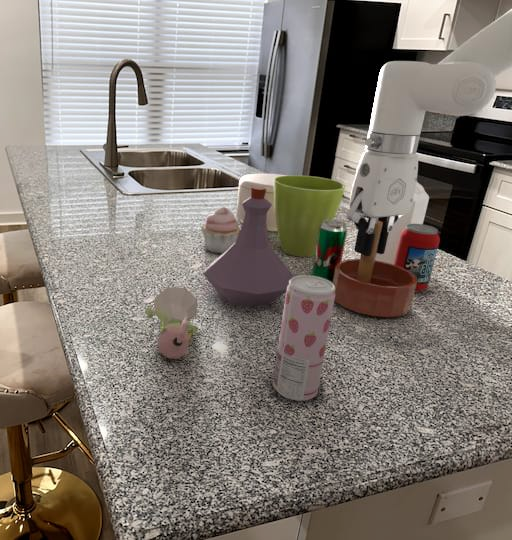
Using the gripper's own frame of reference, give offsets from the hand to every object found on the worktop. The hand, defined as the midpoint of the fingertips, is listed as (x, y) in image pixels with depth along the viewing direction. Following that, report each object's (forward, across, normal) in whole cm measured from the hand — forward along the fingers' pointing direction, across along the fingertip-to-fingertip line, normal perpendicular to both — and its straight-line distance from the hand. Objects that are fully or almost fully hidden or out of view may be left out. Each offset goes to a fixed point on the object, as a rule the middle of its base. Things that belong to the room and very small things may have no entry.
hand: (369, 251), depth 89 cm
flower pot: (+10, +8, +26) cm, 28 cm away
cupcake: (+10, -9, +33) cm, 35 cm away
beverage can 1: (+10, -28, -17) cm, 35 cm away
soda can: (+10, +1, +10) cm, 14 cm away
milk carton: (+10, +22, +13) cm, 27 cm away
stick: (+8, 0, 0) cm, 8 cm away
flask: (+10, -18, +9) cm, 23 cm away
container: (+10, +15, +47) cm, 50 cm away
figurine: (+10, -38, 0) cm, 39 cm away
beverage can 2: (+10, +15, +2) cm, 18 cm away
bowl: (+10, +2, -1) cm, 10 cm away
